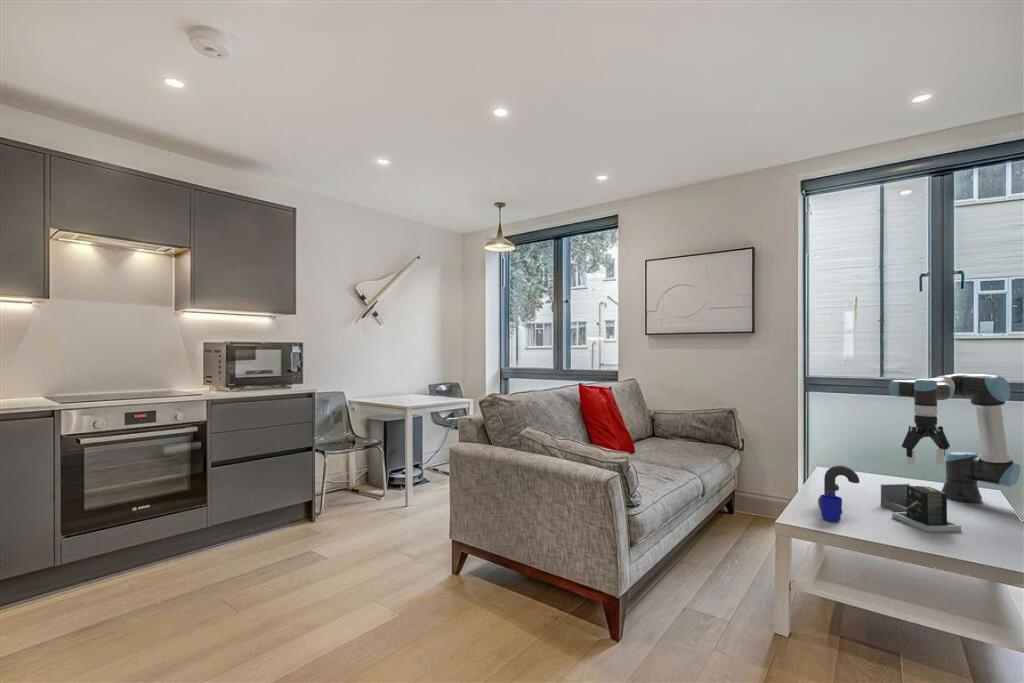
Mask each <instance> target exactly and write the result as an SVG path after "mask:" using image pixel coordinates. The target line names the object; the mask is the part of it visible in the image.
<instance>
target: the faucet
mask: <svg viewBox="0 0 1024 683" xmlns="http://www.w3.org/2000/svg"><path fill="white" fill-rule="evenodd" d="M839 476H843V477H845V478H847V480H848V482H849V483H853V484H860V478H859V476H858V474H857V473H856V472H855V471H854V470H853V469H852V468H850V467H849V466H848V467H847V466H844V465H835V466H832V467H830V468H828V470H826V471H825V474H824V479H823V480H824V481H823V483H824V484H823V485H824V486H823V488H824V489H823V490H824V494H827V495H834V496H837V495H836V491H839V489H840V486H839V485H838V484H837V483H836V478H837V477H839ZM824 494H823V495H824ZM818 504H819V508H820V510H821V501H820V496H819V497H818ZM841 514H843V510H842V509H841Z"/></svg>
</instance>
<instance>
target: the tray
mask: <svg viewBox="0 0 1024 683" xmlns="http://www.w3.org/2000/svg"><path fill="white" fill-rule="evenodd" d="M891 518H892V519H893V520H896V521H899V522H901V523H903V524H905V525H908V526H911V527H913V528H915V529H918V530H920V531H922V532H925V533H929V534H930V533H934V534H935V533H957V532H958V533H961V532H962V525H959V524H957V523H954V522H953V521H949V520H947V525H942V526H927V525H924V524H922V523H919V522H917V521H914V520H912V519H909V518H907V512H897V511H895V512H891Z"/></svg>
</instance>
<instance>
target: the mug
mask: <svg viewBox="0 0 1024 683" xmlns="http://www.w3.org/2000/svg"><path fill="white" fill-rule="evenodd" d="M819 497H820V501H821V509H820V512H821V518H822V519H823V520H825V521H828V522H832V523H838V522H840V521H841V518H842V513H841V509H842V507H843V498H842V497H840V496H839V495H836V496H834V495H827V494H821V495H819Z"/></svg>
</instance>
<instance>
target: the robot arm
mask: <svg viewBox="0 0 1024 683" xmlns="http://www.w3.org/2000/svg"><path fill="white" fill-rule="evenodd" d="M888 391H889V392H888V393H889V394H890V396H893V397H898V398H900V397H902V398H913V399H914V403H913V404H914V410H913V411H914V416H913V417H914V420H913V421H914V423H915V426H913V425H912V426H911V425H909V426H908V430H907V433H906V436H905V438H904V440H903V442H902V444H901V448H903V449H906V450H905V451H906V457H907V464H908V465H911V466H916V450H915V447H916V446H917V445H918V444H919V442H920V441H921V439H924V438H930V439H931V440H932V442H933V443H934V444H935V446H937V447H936V464H938V465H941V466H943V465H944V466H945V482H944V484H943V486H942V489H941V490H940V491H941V492H944V493H946V494H947V499H949V500H952V501H957V502H962V503H971V504H972V503H973V504H977V503H978V504H980V503H983V496H982V495H981V492H980V490H979V487H978V482H982V483H986V484H987V483H988V484H992V485H996V486H999V487H1001V486H1002V487H1008V488H1011V487H1014V486H1016V484H1017V482H1018V481H1019V479H1020V475H1021V466H1020V464H1019V463H1017V462H1014V460H1013V457H1012V456H1011V455H1009V454H1008V448H1007V442H1006V434H1005V433H1006V432H1005V427H1004V426H1005V425H1004V418H1003V417H1004V416H1003V411H1002V410H1003V408H1002V407H1003V406H1005V404H1006V402H1007V401H1008V400H1009V399H1010V397H1011V393H1012V392H1011V387H1010V383H1009V382H1008V380H1007V379H1006V378H1005V377H1003V376H1001V375H993V374H977V373H976V374H975V373H955V374H946V375H940V376H936V377H934V378H917V379H913V380H900V379H899V380H896V379H895V380H891V381H890V382H889V385H888ZM952 397H955V398H963V399H964V398H965V399H970V403H971V404H972V405H973V406H974V407H975V409H976V415H977V416H976V417H977V423H978V430H979V438H980V446H981V447H980V448H981V453H980V454H978V453H975V452H973V451H972V452H970V451H969V452H968V451H951V452H948V453H947V454H946V451H948V449H949V448H951V444H950V442H949V440H948V438H947V436H946V434H945V432H944V426H940V425H938V417H937V415H938V401H945V400H949V399H950V398H952Z"/></svg>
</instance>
